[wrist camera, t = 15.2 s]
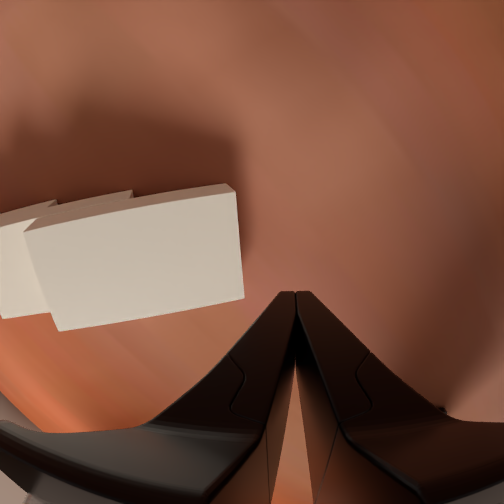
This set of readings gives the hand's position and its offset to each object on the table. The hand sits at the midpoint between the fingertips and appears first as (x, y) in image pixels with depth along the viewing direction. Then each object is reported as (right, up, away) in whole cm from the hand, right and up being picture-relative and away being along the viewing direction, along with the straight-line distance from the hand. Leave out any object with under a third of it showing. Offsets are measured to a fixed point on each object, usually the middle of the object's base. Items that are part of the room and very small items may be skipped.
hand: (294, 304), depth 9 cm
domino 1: (-2, +2, +4) cm, 5 cm away
